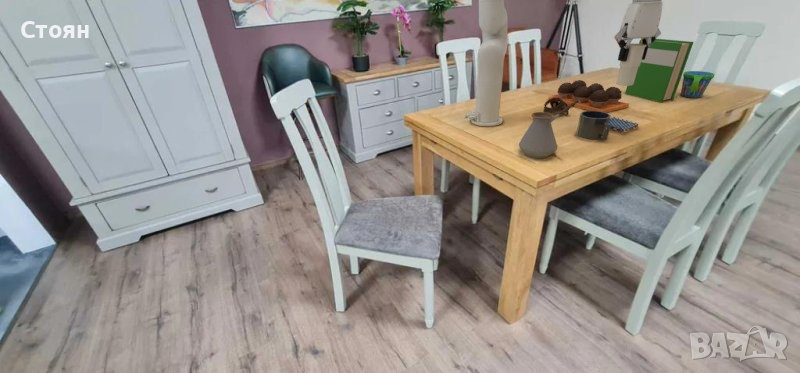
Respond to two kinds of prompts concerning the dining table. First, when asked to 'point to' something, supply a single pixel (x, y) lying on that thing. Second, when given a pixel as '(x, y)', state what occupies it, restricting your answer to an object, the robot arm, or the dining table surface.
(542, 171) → the dining table surface
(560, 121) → the dining table surface
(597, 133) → the mug
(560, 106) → the broken brown clay pot
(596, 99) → the chocolate cupcake tray
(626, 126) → the woven mat
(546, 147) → the coffee pot
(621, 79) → the paper cup
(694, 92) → the snack cup
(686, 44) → the hardback book
